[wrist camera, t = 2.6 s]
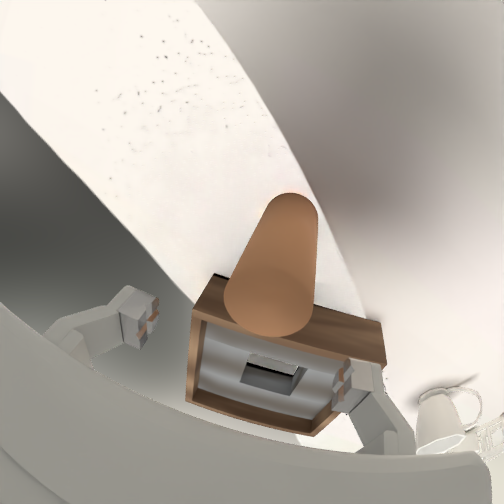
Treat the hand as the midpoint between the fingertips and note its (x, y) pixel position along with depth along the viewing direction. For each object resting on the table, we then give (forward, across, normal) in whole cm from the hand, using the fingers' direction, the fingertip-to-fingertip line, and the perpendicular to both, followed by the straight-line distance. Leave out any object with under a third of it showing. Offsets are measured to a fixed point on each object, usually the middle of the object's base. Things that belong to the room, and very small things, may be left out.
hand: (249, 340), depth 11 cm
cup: (+12, -27, +15) cm, 33 cm away
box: (+12, -3, +14) cm, 19 cm away
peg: (+12, 0, -1) cm, 12 cm away
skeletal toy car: (+13, -52, +26) cm, 59 cm away
